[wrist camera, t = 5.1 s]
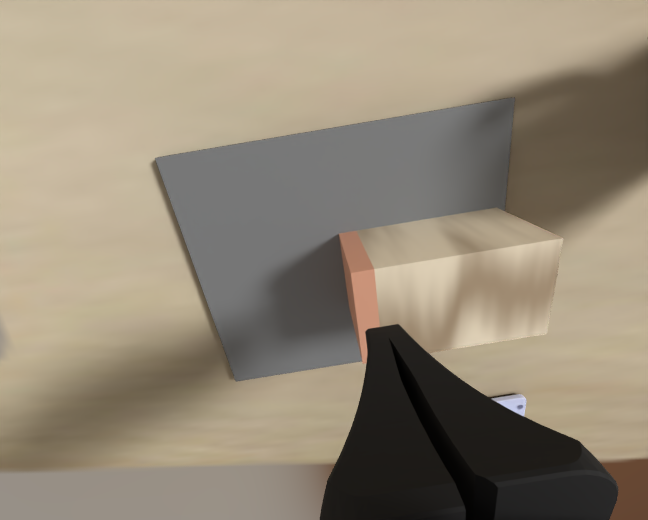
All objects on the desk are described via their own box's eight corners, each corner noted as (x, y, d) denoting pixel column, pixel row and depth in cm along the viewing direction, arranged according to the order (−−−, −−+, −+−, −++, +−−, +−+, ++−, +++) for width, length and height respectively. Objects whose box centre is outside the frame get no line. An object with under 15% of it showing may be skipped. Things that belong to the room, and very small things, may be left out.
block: (349, 307, 20) (490, 284, 20) (362, 363, 15) (546, 334, 15) (338, 233, 18) (496, 207, 18) (350, 273, 13) (563, 237, 13)
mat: (489, 335, 22) (493, 339, 22) (237, 376, 22) (235, 381, 22) (508, 98, 16) (514, 97, 15) (159, 157, 16) (154, 158, 16)
